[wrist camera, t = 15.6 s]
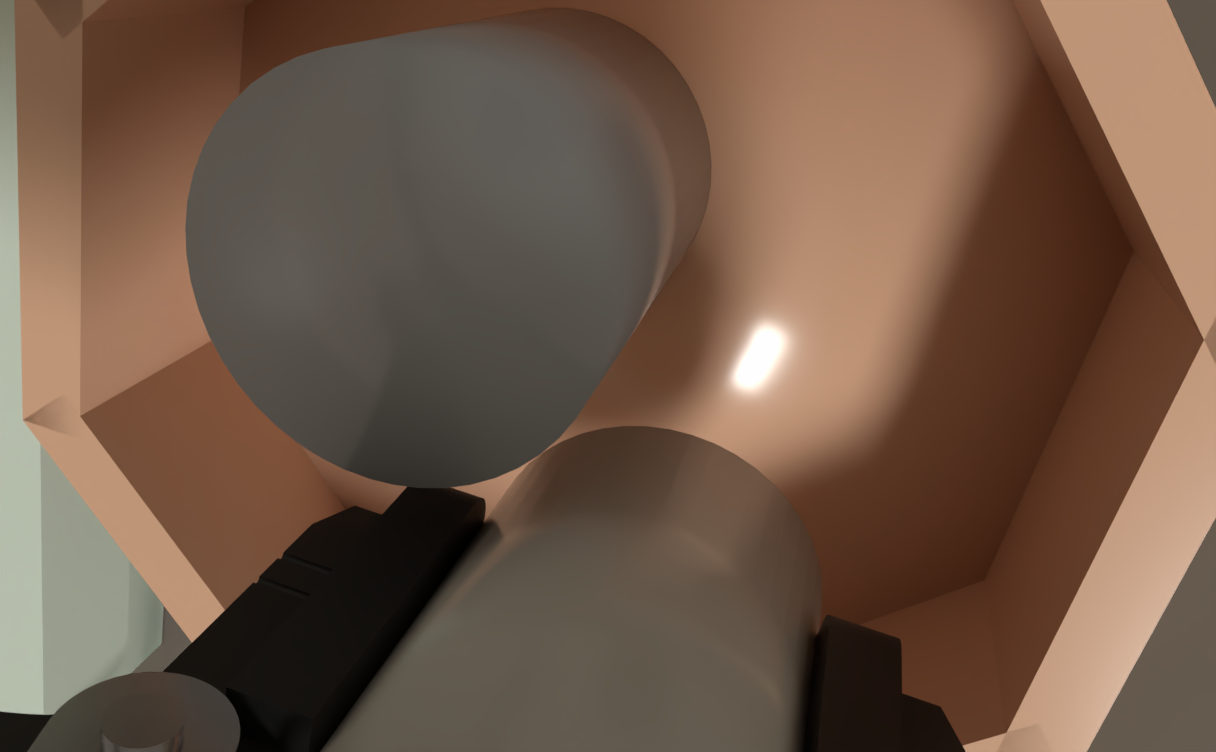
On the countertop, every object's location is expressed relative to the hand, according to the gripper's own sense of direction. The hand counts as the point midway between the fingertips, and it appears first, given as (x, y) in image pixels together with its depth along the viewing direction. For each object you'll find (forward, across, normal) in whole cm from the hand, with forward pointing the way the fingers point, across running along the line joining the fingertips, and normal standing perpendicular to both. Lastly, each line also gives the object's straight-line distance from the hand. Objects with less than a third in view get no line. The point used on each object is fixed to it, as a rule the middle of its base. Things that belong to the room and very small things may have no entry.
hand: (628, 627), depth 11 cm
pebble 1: (+4, +3, -4) cm, 6 cm away
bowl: (+5, +2, -2) cm, 5 cm away
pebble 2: (+1, 0, 0) cm, 1 cm away
